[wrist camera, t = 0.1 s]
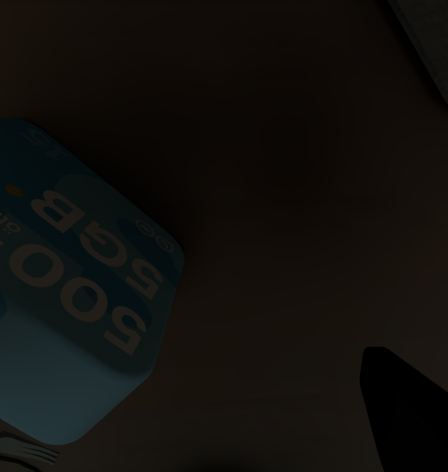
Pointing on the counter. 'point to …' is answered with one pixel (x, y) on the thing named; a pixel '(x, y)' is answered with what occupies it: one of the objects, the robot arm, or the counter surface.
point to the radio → (427, 35)
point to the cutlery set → (23, 450)
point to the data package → (74, 289)
